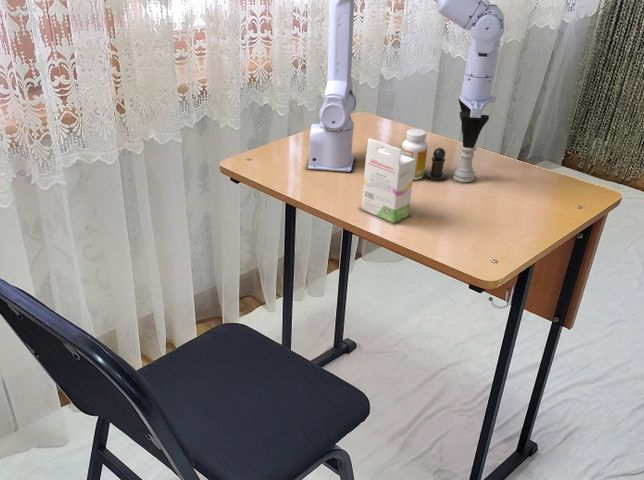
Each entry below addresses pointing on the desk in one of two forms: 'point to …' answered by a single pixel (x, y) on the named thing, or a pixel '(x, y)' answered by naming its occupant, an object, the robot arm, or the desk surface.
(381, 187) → the ink box
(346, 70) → the robot arm
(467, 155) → the rook chess piece
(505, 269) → the desk surface
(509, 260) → the desk surface
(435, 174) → the ebony pawn
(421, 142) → the supplement bottle
